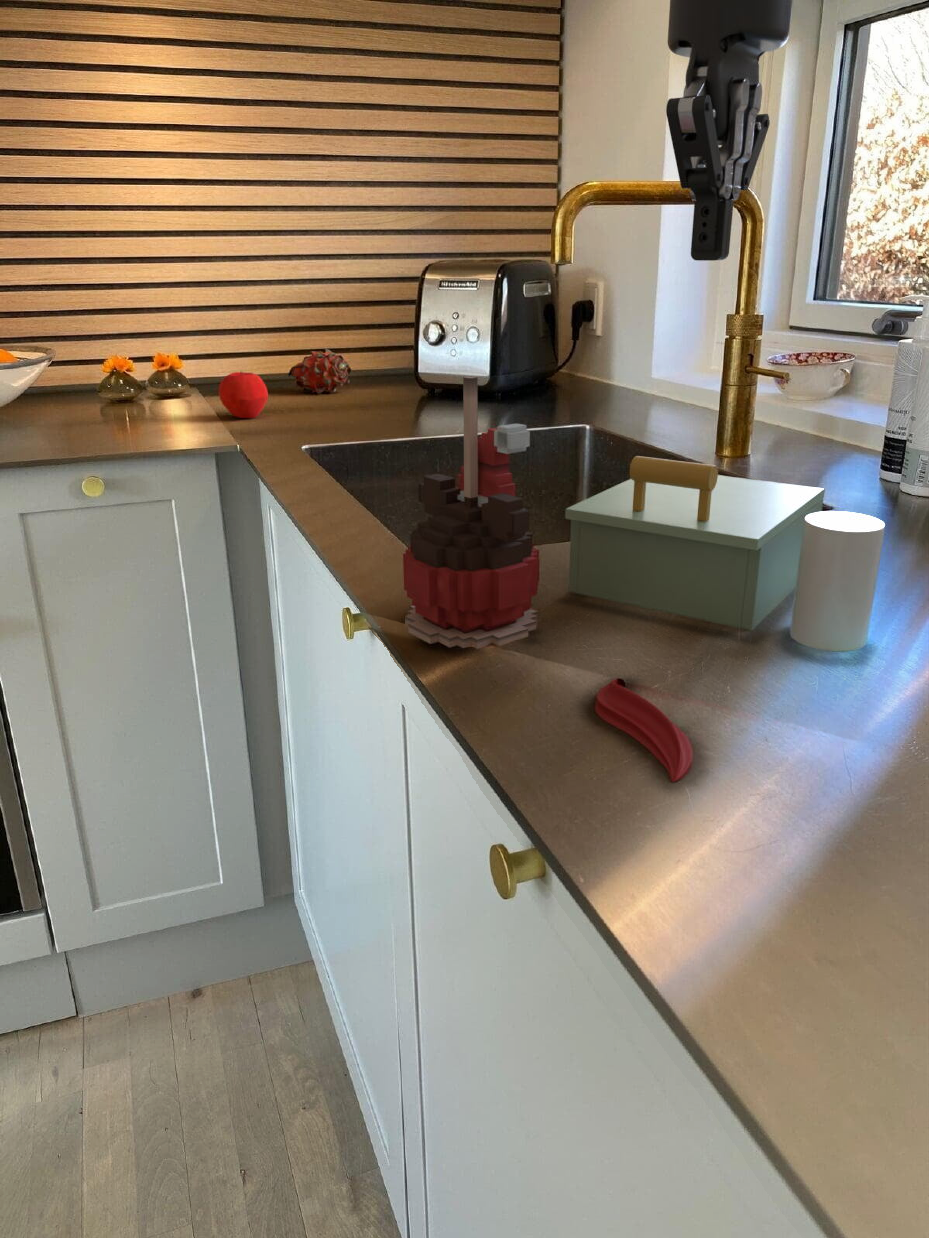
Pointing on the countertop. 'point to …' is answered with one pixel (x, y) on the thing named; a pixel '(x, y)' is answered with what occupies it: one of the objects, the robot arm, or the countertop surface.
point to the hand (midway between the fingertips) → (709, 260)
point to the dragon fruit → (321, 372)
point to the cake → (473, 545)
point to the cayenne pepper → (646, 726)
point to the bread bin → (686, 572)
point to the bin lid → (697, 504)
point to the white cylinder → (836, 580)
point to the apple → (243, 394)
